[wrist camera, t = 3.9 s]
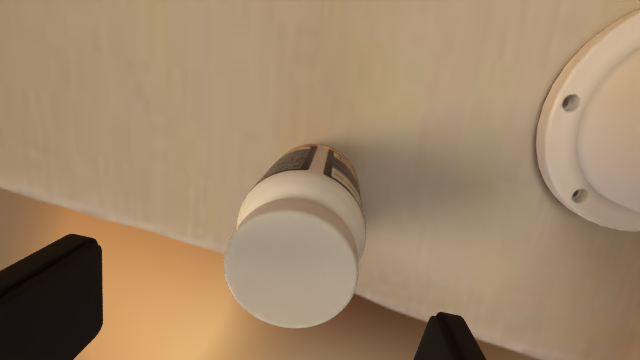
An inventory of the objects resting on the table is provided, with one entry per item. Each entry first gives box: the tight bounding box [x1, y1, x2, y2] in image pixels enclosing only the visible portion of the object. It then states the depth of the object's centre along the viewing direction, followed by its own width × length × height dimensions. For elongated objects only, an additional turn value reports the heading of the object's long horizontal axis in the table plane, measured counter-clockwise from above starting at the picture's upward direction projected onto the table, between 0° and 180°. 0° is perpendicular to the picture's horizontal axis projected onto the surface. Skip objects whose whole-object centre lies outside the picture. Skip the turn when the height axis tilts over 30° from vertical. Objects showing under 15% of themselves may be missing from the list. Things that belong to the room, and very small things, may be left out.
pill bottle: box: [224, 144, 366, 328], centre depth 15 cm, size 6×6×10 cm
